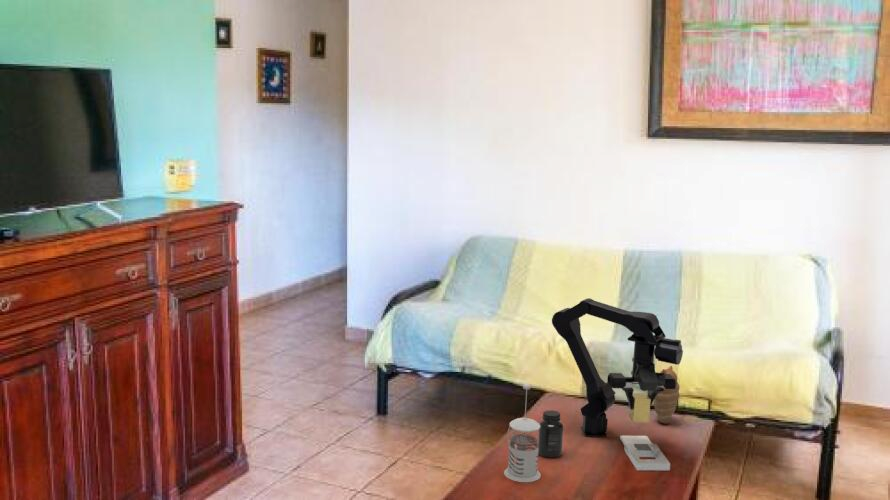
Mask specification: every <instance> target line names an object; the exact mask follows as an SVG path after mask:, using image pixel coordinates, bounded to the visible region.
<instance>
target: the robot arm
mask: <svg viewBox="0 0 890 500" xmlns="http://www.w3.org/2000/svg"><path fill="white" fill-rule="evenodd" d="M585 315H589V316H592V317H595V318H599V319H602V320H604V321H608V322H611V323H614V324H618V325H620V326H622V327H625V328H626V329H627V330H628V331H630V332H631V333H632V334H631V335H630V336H628V338H627V341H630V342H634V346H633V356H632V358H631V361H632V368H631V369H632V370H631V373H630V375H631V376H624V375H623V373H621V372H609V374H608V375H607V379H606V380H607V382H605V380H604V379H602V377H601V376H600V374H599V371H598V369H597V368H596V365H595V362H594V361H593V359H592V356H591V354H590V351H589V349H588V347H587V346H586V343H585V341H584V339H583V336H582V334H581V333H582V331H581V322H580V318H582V317H584V316H585ZM551 324H552V326H553V328H554V329H555V331H556V332H557V334H558V335H559V336H560V337H561V338H563V340H565V342H566V344H567V345H568V348H569V350H570V353H571V355H572V357H573V358H574V359H573V360H574V362H575V364H576V365H577V368H578V370H579V372H580V374H581V377H582V379H583V381H584V383H585V386H586V387H585V391H586V399H587V403H586V404H585V405H583V406H582V407H581V408H580V412H581V415H582V426H580V429H581V431H582V433H583V435H584V437H607V431H608V421H609V419H608V417H607V413H606V412H607V411H608V410H609V409H610V408H611V407H612V406H613V405H614V404H615V401H616V397H615V396H616V392H615V390H614V389H622V391H624V394H625V396H626V399H627V402H628V408H629V407H630V409H632V407H633V393H634V391H635V390H634V388H633V385H638V386H639V389H640V390H641V391H643V392H645V391H647V393H646V394H647V395H648V396H649V398H650V399H651V402H650V408H651V407H652V405H653V404H654V403H653V402H654V399H655V397H656V395H657V394H658V393H659V392H661V391H664V389H663V386H664V387H665V388H666V389H676V384H677V383H676V380H675V379H674V378H673V377H672V376H671V375H670V374H664V373H660V372H656V369H655V367H656V366H655V365H656V363H654V362H655V361H654V359H656V360H657V361H658V362H662V363H666V364H670V365H671V364H672V365H677V366H679V365H680V363H681V362H682V358H683V353H684V350H683V346H682V340H680V339H671V338H667V337H666V334H665V332H664V331H663V329H662V328H661V325H660V320H659V319H658V317H657V315H655V314H654V313H652V312H645V311H630V310H626V309H622V308H620V307H616V306H613V305H609V304H605V303H604V302H601V301H600V302H599V301H596V300H594V299H592V298H585V299H583V300H581V301H580V302H579V303H577V304H575V305H574V306H572V307H565V308H563V309H561V310H558V311H556V312H555V313H554V314H553V315H552V318H551Z"/></svg>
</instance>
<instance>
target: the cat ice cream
mask: <svg viewBox="0 0 890 500" xmlns="http://www.w3.org/2000/svg"><path fill="white" fill-rule="evenodd" d="M673 368H674V367H673V365H670V366H669V367H668V368H667V369H666V368H665V369H664V368H663V369H662V370H661V371H659V373H664V374H670V375H671V376H672V377H673V378H674V379H675V380H676V383H677V384H676V389H666V388H665V387H664V386H663V389H664V391H661V392H659V393H658V394H657V395H656V397H655V399H654V401H653V403H652V404H653V406H654V411H655V413H656V415H657V420H658V421H659V422H660V423H661V424H665V425H666V424H669V423H670V422H671V420H672V418H673V414H674V413H675V411H676V407H677V405H678V404H677V403H678V400H679V398H680V389H681V388H680V384H679V382H678V374H677V373H676V371H674V370H673Z"/></svg>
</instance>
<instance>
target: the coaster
mask: <svg viewBox="0 0 890 500" xmlns="http://www.w3.org/2000/svg"><path fill="white" fill-rule="evenodd" d="M619 439H620V440H621V442H622V444H623V445H624V446H625V444H653V442H652V441H651V440H650V439H649V437H648V436H647V435H619Z"/></svg>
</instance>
